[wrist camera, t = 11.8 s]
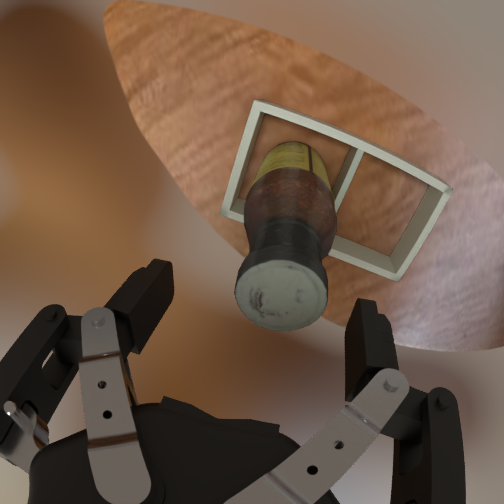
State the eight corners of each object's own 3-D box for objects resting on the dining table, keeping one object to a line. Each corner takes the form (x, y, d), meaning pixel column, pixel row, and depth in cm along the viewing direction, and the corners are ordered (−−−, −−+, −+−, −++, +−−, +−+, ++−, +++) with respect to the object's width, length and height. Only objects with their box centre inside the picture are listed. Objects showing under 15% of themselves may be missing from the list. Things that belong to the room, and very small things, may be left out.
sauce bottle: (253, 178, 30) (175, 305, 14) (282, 127, 27) (230, 196, 10) (307, 210, 31) (293, 364, 14) (340, 162, 28) (378, 283, 11)
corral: (440, 178, 26) (453, 189, 23) (391, 264, 32) (398, 282, 29) (260, 99, 26) (254, 100, 23) (228, 201, 32) (219, 214, 29)
